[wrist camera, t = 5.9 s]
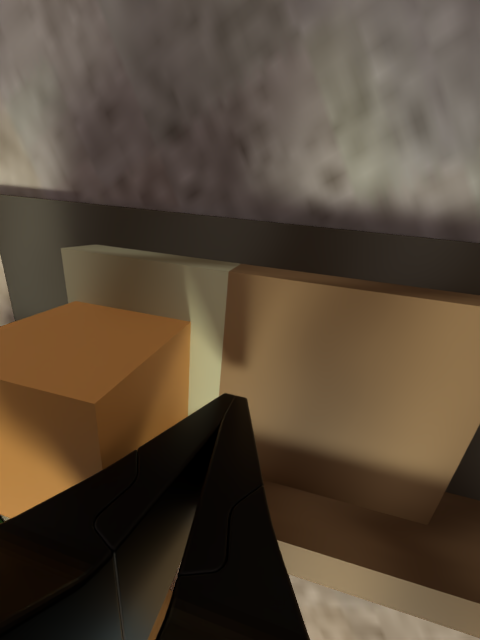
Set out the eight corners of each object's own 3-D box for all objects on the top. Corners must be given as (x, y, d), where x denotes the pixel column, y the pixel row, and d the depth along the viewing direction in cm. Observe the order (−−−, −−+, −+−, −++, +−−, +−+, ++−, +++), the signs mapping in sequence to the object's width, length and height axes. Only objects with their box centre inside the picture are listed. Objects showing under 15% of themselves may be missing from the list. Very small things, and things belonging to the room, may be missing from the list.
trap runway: (725, 268, 7) (1162, 316, 4) (528, 536, 11) (638, 691, 7) (-6, 193, 12) (-152, 180, 8) (39, 405, 15) (-45, 462, 12)
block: (190, 321, 9) (94, 403, 5) (187, 427, 11) (112, 555, 7) (75, 300, 10) (-90, 356, 6) (88, 401, 12) (-34, 502, 7)
